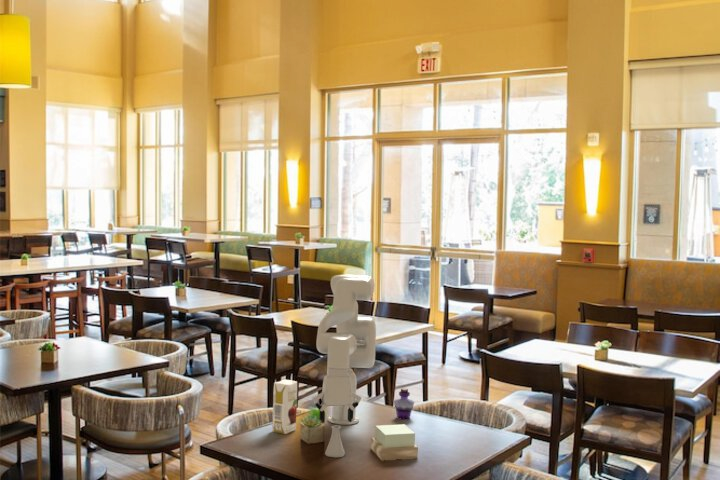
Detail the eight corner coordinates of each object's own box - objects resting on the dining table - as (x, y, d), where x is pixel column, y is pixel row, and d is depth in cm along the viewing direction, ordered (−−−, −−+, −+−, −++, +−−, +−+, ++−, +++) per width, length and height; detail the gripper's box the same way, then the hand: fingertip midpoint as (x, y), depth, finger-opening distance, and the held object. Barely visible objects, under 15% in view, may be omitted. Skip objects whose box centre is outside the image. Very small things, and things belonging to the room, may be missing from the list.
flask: (344, 458, 253) (346, 430, 252) (323, 457, 253) (324, 429, 252) (345, 451, 260) (346, 423, 259) (325, 451, 260) (326, 423, 260)
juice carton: (269, 432, 280) (271, 382, 279) (282, 426, 287) (283, 378, 287) (286, 435, 276) (287, 385, 275) (298, 429, 284) (300, 381, 283)
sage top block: (375, 438, 264) (375, 425, 264) (404, 436, 267) (404, 424, 267) (384, 447, 253) (385, 434, 253) (414, 446, 256) (415, 433, 256)
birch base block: (371, 449, 264) (371, 437, 264) (405, 448, 268) (405, 435, 268) (381, 462, 252) (382, 449, 252) (417, 459, 255) (417, 447, 255)
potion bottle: (403, 413, 312) (404, 385, 312) (418, 418, 305) (419, 389, 305) (388, 416, 307) (389, 388, 306) (402, 421, 300) (403, 392, 300)
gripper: (359, 369, 261) (357, 417, 261) (311, 370, 256) (309, 419, 257) (364, 374, 254) (362, 423, 254) (315, 374, 249) (313, 425, 249)
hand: (336, 421), depth 255 cm, fingers open, 9 cm apart
